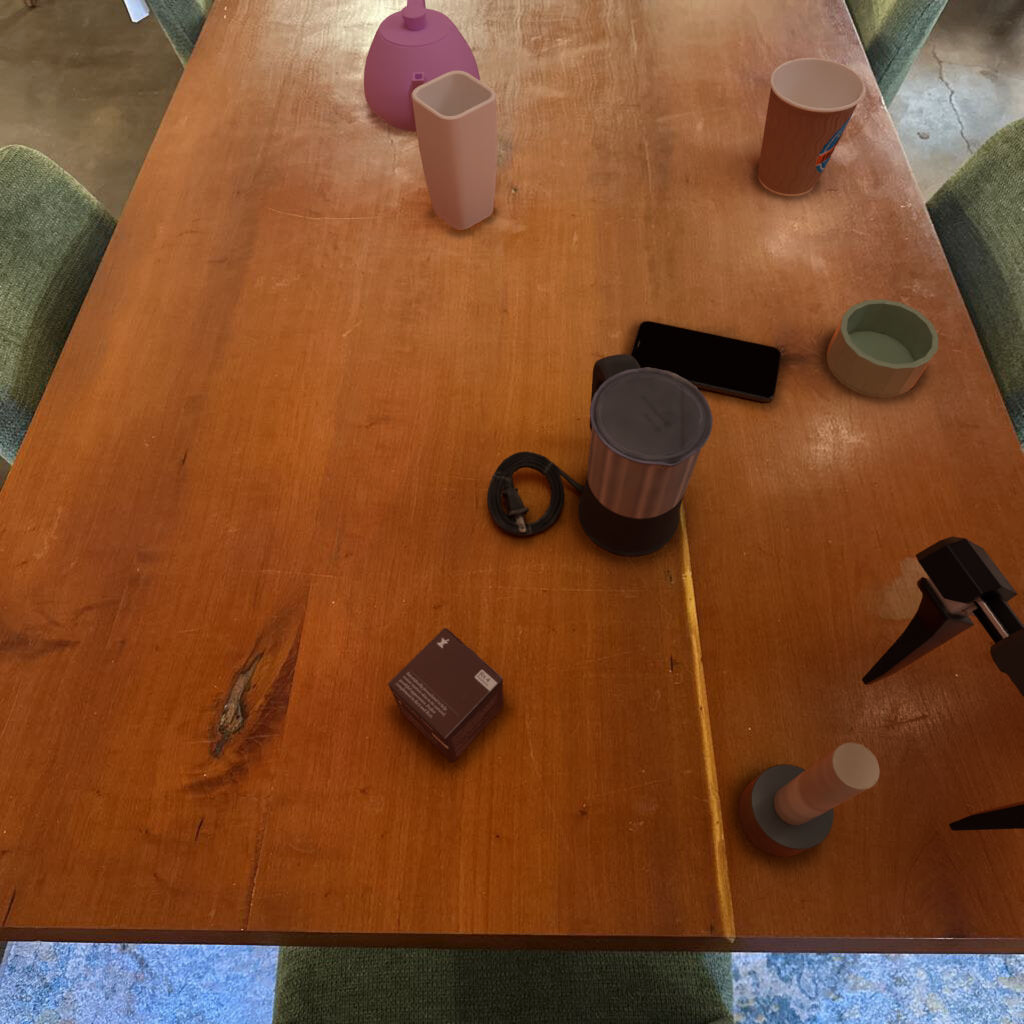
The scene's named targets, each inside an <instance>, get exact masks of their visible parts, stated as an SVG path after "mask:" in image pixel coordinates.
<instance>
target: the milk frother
mask: <svg viewBox="0 0 1024 1024" xmlns="http://www.w3.org/2000/svg"><path fill="white" fill-rule="evenodd" d="M713 422H714V418H713V412H712V410H711V406H710V403H709V402H708V400H707V399H706V397H705V395H704V394H703V393H702V392H701V390H700V389H699V388H697V387H696V386H694V385H693V384H692V383H691V382H689V381H688V380H686V379H684V378H682V377H680V376H679V375H677V374H675V373H672V372H669V371H666V370H661V369H657V368H650V367H646V368H641V367H640V365H639V364H638V362H637V361H636V359H635V358H634V357H633V356H631V355H630V354H628V353H620V354H613V355H608V356H605V357H602V358H599V359H597V360H596V361H595V363H594V365H593V367H592V379H591V394H590V406H589V429H590V441H589V450H588V459H587V467H586V475H585V483H584V485H582V484H581V483H579V482H578V481H576V480H575V479H574V478H572V477H571V476H570V475H569V474H568V473H566V472H565V471H564V470H562V469H561V467H559V466H558V465H557V464H555V462H553V461H551V460H550V459H549V458H548V457H546V456H544V455H542V454H540V453H536V452H533V451H519V452H514V453H513V454H511V455H508V456H507V457H506V458H505V459H503V460H502V461H501V463H500V464H499V465H498V466H497V468H496V469H495V471H494V473H493V474H492V476H491V480H490V482H489V485H488V490H487V495H486V496H487V497H486V504H487V509H488V512H489V515H490V517H491V519H492V521H493V522H494V523H495V525H496V526H497V527H498V528H499V529H501V531H503V532H505V533H507V534H510V535H511V536H515V537H528V536H532V535H533V536H534V535H536V534H540V533H542V532H543V531H545V530H547V529H549V528H550V527H552V526H553V524H554V523H555V522H556V521H557V519H558V518H559V516H560V514H561V513H562V510H563V507H564V504H565V489H564V483H563V480H562V478H563V479H564V480H565V481H566V482H568V484H569V485H570V486H571V487H572V488H573V489H575V490H576V491H578V492H579V493H581V495H580V497H579V500H578V507H577V513H578V519H579V523H580V525H581V527H582V529H583V531H584V533H585V534H586V535H587V536H588V538H589V539H590V540H591V541H592V542H593V543H594V544H596V545H597V546H599V547H600V548H602V549H603V550H605V551H607V552H609V553H612V554H615V555H619V556H625V557H627V556H628V557H638V556H646V555H649V554H652V553H655V552H656V551H658V550H660V549H661V548H663V547H664V546H666V544H668V543H669V542H670V541H671V539H673V537H674V535H675V533H676V531H677V529H678V527H679V523H680V511H681V506H682V503H683V500H684V497H685V494H686V492H687V488H688V486H689V484H690V481H691V479H692V476H693V473H694V470H695V467H696V465H697V461H698V460H699V456H700V453H701V450H702V448H703V447H704V446H705V445H706V444H707V442H708V440H709V438H710V437H711V434H712V429H713ZM521 469H532V470H534V471H537V472H539V474H541V475H542V476H543V477H544V478H545V479H546V480H547V482H548V484H549V487H550V500H549V504H548V507H547V508H546V511H545V513H543V515H542V516H541V517H539V518H538V519H537V520H534V521H532V522H529V523H527V522H526V520H525V518H524V517H525V516H526V515H527V513H528V512H530V508H529V507H528V506H527V507H526V506H525V505H524V502H523V500H522V498H521V496H520V493H519V488H517V487H515V484H514V478H513V475H514V474H515V473H516V472H517V471H518V470H521ZM561 477H562V478H561ZM502 498H503V501H504V506H505V510H504V507H503V502H502Z"/></svg>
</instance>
